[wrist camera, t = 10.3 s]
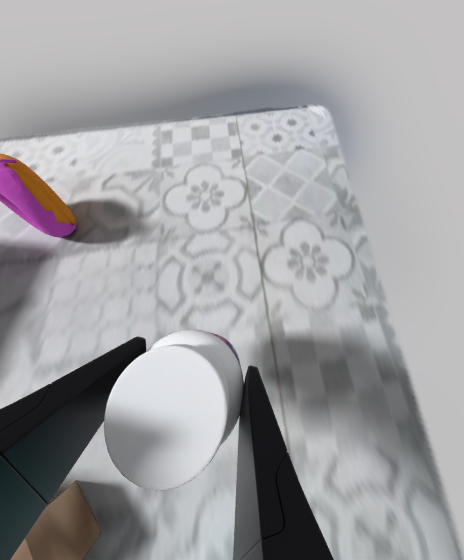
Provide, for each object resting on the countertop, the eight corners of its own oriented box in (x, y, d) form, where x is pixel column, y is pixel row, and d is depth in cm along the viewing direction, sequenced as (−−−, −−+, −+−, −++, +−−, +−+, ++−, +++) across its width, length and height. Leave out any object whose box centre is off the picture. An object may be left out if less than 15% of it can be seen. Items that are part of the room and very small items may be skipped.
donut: (38, 258, 26) (-78, 211, 16) (33, 207, 28) (-70, 139, 19) (95, 239, 26) (17, 183, 17) (85, 190, 29) (13, 118, 19)
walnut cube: (101, 531, 17) (50, 606, 12) (50, 582, 16) (-26, 685, 11) (76, 479, 18) (21, 529, 14) (28, 524, 17) (-50, 594, 13)
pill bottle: (231, 326, 16) (229, 309, 7) (247, 395, 14) (272, 494, 5) (169, 341, 16) (79, 345, 6) (178, 413, 14) (75, 555, 5)
